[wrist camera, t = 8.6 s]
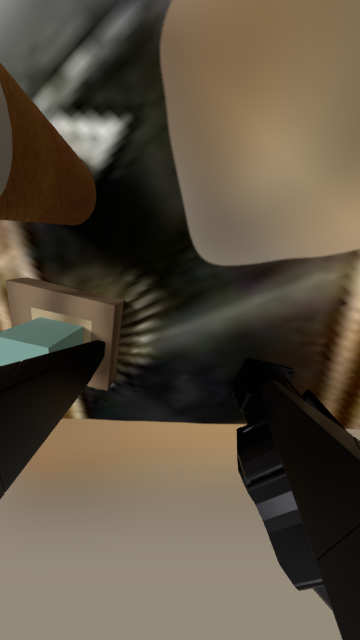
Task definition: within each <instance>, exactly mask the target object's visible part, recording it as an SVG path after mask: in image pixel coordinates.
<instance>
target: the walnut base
mask: <svg viewBox="0 0 360 640" xmlns="http://www.w3.org/2000/svg"><path fill="white" fill-rule="evenodd" d="M6 285H7V292H8V299H9V306H10V313H11V320H12V327H15V326H17V325H20V324H23V323H25V322H28V321H31V320H33V319H36V318H38V317H44V318H48V319H52V320H57V321H61V322H66V323H70V324H74V325H79V326H83V344H84V343H87V342H91V341H95V340H101V341H104V342H105V356H104V359H103V360H102V362H101V364H100V365H99V367H98V369H97V370H96V372H95V374H94V375H93V377H92V379H91V380H90V382H89V383H88V385H87V386H90V387H94V388H99V389H103V390H108V389H109V387H110V386H111V384H112V383H113V381H114V379H115V377H116V368H117V359H118V349H119V340H120V331H121V321H122V312H123V303H124V300H121V299H116V298H112V297H108V296H103V295H99V294H95V293H91V292H86V291H82V290H78V289H74V288H69V287H65V286H61V285H57V284H52V283H48V282H44V281H39V280H35V279H31V278H19V279H10V280H6Z"/></svg>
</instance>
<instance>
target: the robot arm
mask: <svg viewBox="0 0 360 640" xmlns="http://www.w3.org/2000/svg"><path fill="white" fill-rule="evenodd" d="M104 356H105V342H104V341H101V340H95V341H91V342H87V343H84V344H80V345H76V346H73V347H69V348H65V349H62V350H58V351H54V352H51V353H47V354H44V355H40V356H36V357H33V358H29V359H25V360H22V362H21V361H18V362H14V363H11V364H7V365H3V366H0V499H1V498H2V496H3V495H4V492H6V491H7V490H8V488H9V487H10V486H11V484H12V483H13V482H14V480H15V479H16V478H17V477H18V475H19V474H20V473H21V471H22V470H23V469H24V467H25V466H26V465H27V463H28V462H29V461H30V459H31V458H32V457H33V455H34V454H35V453H36V452H37V450H38V449H39V448H40V446H41V445H42V444H43V442H44V441H45V440H46V439H47V437H48V436H49V434H50V433H51V432H52V431H53V429H54V428H55V427H56V425H57V424H58V423H59V421H60V420H61V419H62V418H63V416H64V415H65V414H66V412H67V411H68V410H69V408H70V407H71V406H72V404H73V403H74V402H75V400H76V399H77V398H78V397H79V395H80V394H81V393H82V391H83V390H84V389H85V387H86V386H87V385H88V383H89V382H90V380H91V379H92V377H93V375H94V374H95V372H96V370H97V369H98V367H99V365H100V364H101V362H102V360H103V359H104ZM248 362H250V363H248ZM290 371H291V372H290ZM294 373H295V372H294V370H293V369H292V368H289V367H285V366H280V365H276V364H272V363H267V362H263V361H259V360H254V359H250V358H248V359H246V360H245V361H244V364H243V366H242V368H241V371H240V372H239V373H238V374H237V377H236V379H235V382H234V384H233V390H232V392H231V396H232V397H233V398H235V399H237V403H238V406H239V409H240V411H241V412H244V414H245V417H246V420H247V423H248V424H247V425H246V426H244V427H240V428H238V429H237V460H238V471H239V474H240V475H241V478H242V480H243V483H244V485H245V487H246V490H247V492H248V493H249V495H250V497H251V498H252V500H253V501H254V503H255V505H256V507H257V509H258V511H259V513H260V515H261V517H262V520H263V522H264V525H265V527H266V530H267V532H268V535H269V538H270V541H271V543H272V546H273V549H274V551H275V554H276V557H277V560H278V562H279V564H280V566H281V567H282V569H283V570H284V572H285V573H286V574H287V576H288V577H289V579H290V580H291V582H292V583H293V585H294V586H295V587H296V588H297V589H298V590H300V591H301V590H306V589H311V588H313V589H314V591H315V592H316V593H317V594H318V595H319V596H320V597H321V598H322V600H323V601H324V602H325V603H326V604H327V605H328V606H329V607H330V609H331V610H332V611H333V613H334V616H335V619H336V622H337V625H338V628H339V631H340V634H341V636H342V639H343V640H360V441H359V440H358V439H356V438H355V437H353V436H352V435H351V434H349V433H348V432H347V431H346V430H345V428H344V427H343V426H342V425H341V424H340V423H339V422H338V421H337V420H336V418H335V417H334V416H333V415H332V414H331V413H330V412H329V411H328V410H327V409H326V407H325V406H324V405H323V404H322V403H321V402H320V401H319V400H318V399H317V398H316V396H315V395H314V394H313V393H312V392H311V391H310V390H309V389H308V390H307V391H305V392H304V394H302V395H300V394H299V393H298V391H297V390H296V389H295V388H294V386H293V385H292V384H291V382H290V380H291V379H292V377H293V375H294ZM234 394H235V395H234Z"/></svg>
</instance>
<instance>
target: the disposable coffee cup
mask: <svg viewBox="0 0 360 640" xmlns="http://www.w3.org/2000/svg"><path fill="white" fill-rule="evenodd" d="M95 204H96V188H95V183H94V180H93V177H92V175H91V173H90V171H89V169H88V168H87V166H86V165H85V164H84V163H83V161H82V160H81V159H80V158H79V157H78V156H77V154H76V153H75V152H74V151H73V150H72V148H71V147H70V146H69V145H68V144H67V142H66V141H65V140H64V139H63V138H62V136H61V135H60V134H59V133H58V131H57V130H56V129H55V127H54V126H53V125H52V124H51V123H50V122H49V121H48V120H47V118H46V117H45V116H44V115H43V113H42V112H41V111H40V110H39V109H38V107H37V106H36V105H35V104H34V103H33V101H32V100H31V99H30V98H29V97H28V96H27V94H26V93H25V92H24V91H23V90H22V88H21V87H20V86H19V85H18V84H17V82H16V81H15V80H14V79H13V78H12V76H11V75H10V74H9V73H8V72H7V70H6V69H5V68H4V67H3V65H2V64H1V63H0V220H11V221H23V222H37V223H50V224H62V225H78V224H82V223H83V222H84V221H86V220H87V219H88V218H89V217H90V216H91V214H92V212H93V211H94V207H95Z"/></svg>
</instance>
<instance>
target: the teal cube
mask: <svg viewBox="0 0 360 640" xmlns="http://www.w3.org/2000/svg"><path fill="white" fill-rule="evenodd" d="M80 344H83V326H79V325H74V324H70V323H66V322H61V321H57V320H52V319H48V318H44V317H38V318H36V319H33V320H31V321H28V322H25V323H23V324H20V325H17V326H15V327H12V328H10V329H7V330H4V331H2V332H0V366H3V365H7V364H11V363H14V362H18V361H21V362H22V360H25V359H29V358H33V357H36V356H40V355H44V354H47V353H51V352H54V351H58V350H62V349H65V348H69V347H73V346H76V345H80Z"/></svg>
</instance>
